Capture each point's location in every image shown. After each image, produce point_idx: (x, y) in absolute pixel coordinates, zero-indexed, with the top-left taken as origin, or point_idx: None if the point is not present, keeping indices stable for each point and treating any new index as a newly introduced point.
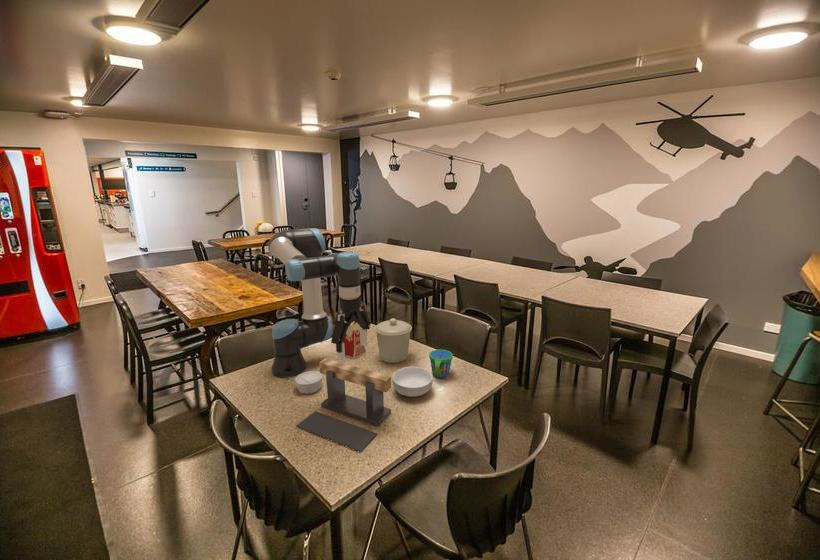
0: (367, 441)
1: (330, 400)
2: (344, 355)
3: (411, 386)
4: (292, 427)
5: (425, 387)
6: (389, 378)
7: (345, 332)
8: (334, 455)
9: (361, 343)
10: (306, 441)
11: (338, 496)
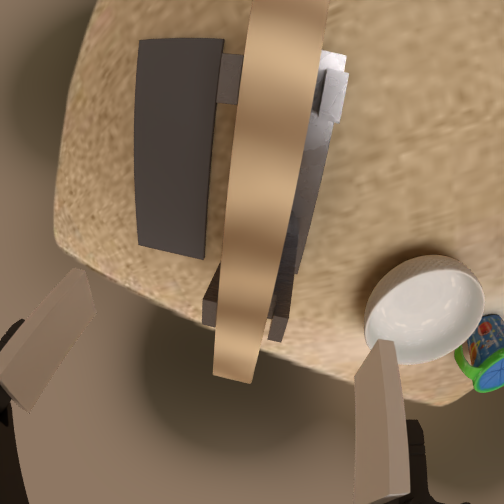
0: (168, 248)
1: None
2: (74, 337)
3: (432, 288)
4: (138, 32)
5: None
6: (240, 378)
7: (16, 489)
8: (109, 196)
9: (373, 361)
10: (111, 107)
11: (64, 245)
